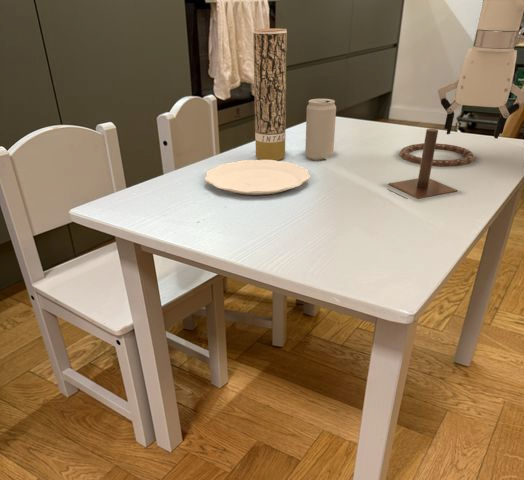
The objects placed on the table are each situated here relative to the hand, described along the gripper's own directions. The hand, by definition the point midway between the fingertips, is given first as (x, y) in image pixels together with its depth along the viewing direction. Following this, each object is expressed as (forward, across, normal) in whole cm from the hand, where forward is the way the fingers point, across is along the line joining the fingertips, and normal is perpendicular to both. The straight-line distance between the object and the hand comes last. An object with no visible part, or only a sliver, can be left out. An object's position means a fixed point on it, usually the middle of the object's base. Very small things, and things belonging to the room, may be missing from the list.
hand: (471, 135), depth 107 cm
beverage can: (+7, +32, +5) cm, 33 cm away
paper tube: (+7, +43, +8) cm, 44 cm away
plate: (+7, +40, +26) cm, 48 cm away
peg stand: (+6, +8, +23) cm, 25 cm away
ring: (+5, +6, 0) cm, 8 cm away
